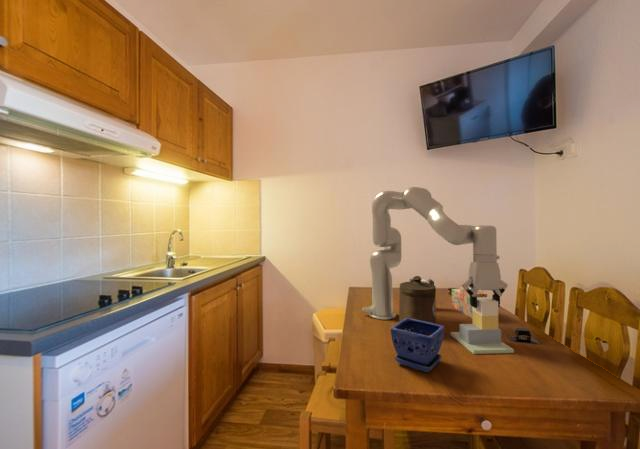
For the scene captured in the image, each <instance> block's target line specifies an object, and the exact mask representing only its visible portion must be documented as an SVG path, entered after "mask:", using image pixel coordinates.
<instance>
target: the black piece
mask: <svg viewBox="0 0 640 449" xmlns="http://www.w3.org/2000/svg"><path fill="white" fill-rule="evenodd" d="M506 337H507V338H508V339H509V341H510V342H512V343H513V342H515V343H522V344H523V343H524V344H536V345H541V343H540V342H539V341H538V340H537V339H536V338H535V337H532V333H531V330H529V329H528V327H527V328H525V327H522V328H521V327H515V330H514V336H512V335H511V336H510V335H506Z"/></svg>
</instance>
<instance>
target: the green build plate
mask: <svg viewBox="0 0 640 449" xmlns="http://www.w3.org/2000/svg"><path fill="white" fill-rule="evenodd" d="M450 336H451V337H452V338H453V339H454V340H456V341H457V342H459V343H460V344H461V345H462V346H463V347H465V348H466V349H467V350H468V351H469V352H471V354H473V355H479V354H480V355H483V354H484V355H485V354H513V353H515V350H514V348H512V347H511V346H509V345H507V344H506V343H505V342H504V341H501V343H489V344H468V343H466V342H465V341H464V340H463V339H461V338H460V331H451V332H450Z"/></svg>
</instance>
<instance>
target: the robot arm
mask: <svg viewBox="0 0 640 449" xmlns="http://www.w3.org/2000/svg"><path fill="white" fill-rule="evenodd" d="M409 209H413V210H414V211H415V212H416V213H418V214H419V215H420V216H421V217H423V218H424V219H425V220H426V221H427V222H428V224H429V226H430V227H431V229H432V230H433V231H434V232H435V233H436V234H437V235H439V236H440V237H441V238H442V239H444V240H445V241H446V242H448V243H449V244H451V245H453V246H460V245H461V246H462V245H467V244H468V245H469V244H472V261H470V264H469V268H468V269H469V270H468V275H467V276H468V279H467V280H466V281H465V282H463V283H462V284H461V287H463V288H464V289H465V291H466V292H467V293H468V294H469V295H470V304H471V306H472V307H474V308H477V297H476V294H477V293H478V291H479V290H481V291H492V293H493V294H492V296H491V297H492V298H491V299H493V300H496V301H498V308H500V307H501V306H500V304H501V297H502V296H503V293H505V291H506V289H507V288H508V283H506V282H505V281H504V280H502V278H501V270H500V265H499V263H498V262H497V261H498V260H499V259H500V255H498V254H497V253H498V252H497V251H498V250H497V249H498V248H497V247H498V246H497V228H496V226H494V225H483V224H482V225H470V224H459V223H456V221H454V220H452V219H451V218H450V217H449V216H448V215H447V214H446V213H445V212H444V209H443V205H442V204H441V203H440V202H438V201H437V200H436V199H435V198H433V197H432V193H431V192H430V191H429V189H427V188H424V187H421V186H420V187H418V186H411V187H409V188H407V189H406V190H405V191H397V190H396V191H395V190H383V191H381V192H379V193H377V194H376V196H375V197H374V198H373V200H372V203H371V212H372V242H373V245H374V246H376V247H378V248H383V249H379V250H376V251H373V252H372V254H371V255H370V258H369V265H370V270H371V288H372V289H371V290H372V291H371V292H372V293H371V295H372V296H371V298H372V300H371V302H372V303H371V304H370V306H363V307H362V312H366V313H369V317H370V318H374V319H376V320H387V321H388V320H392V319H396V317H397V314H396V312H395V311H394V310H393V308H394V307H393V275H392V273H391V269H394V268H396V267H398V266H399V265H400V264H401V261H402V236H401V232H400V231H399V230H398V228H395V227H393V226H392V224H391V222H392V220H391V215H390V212H389V210H398V211H399V210H409ZM468 287H470V288H471V289H469V288H468Z"/></svg>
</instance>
